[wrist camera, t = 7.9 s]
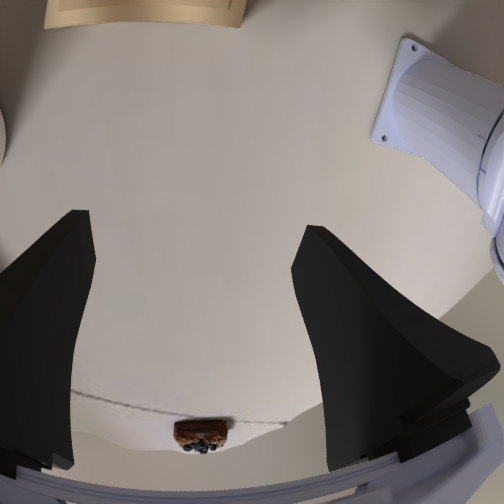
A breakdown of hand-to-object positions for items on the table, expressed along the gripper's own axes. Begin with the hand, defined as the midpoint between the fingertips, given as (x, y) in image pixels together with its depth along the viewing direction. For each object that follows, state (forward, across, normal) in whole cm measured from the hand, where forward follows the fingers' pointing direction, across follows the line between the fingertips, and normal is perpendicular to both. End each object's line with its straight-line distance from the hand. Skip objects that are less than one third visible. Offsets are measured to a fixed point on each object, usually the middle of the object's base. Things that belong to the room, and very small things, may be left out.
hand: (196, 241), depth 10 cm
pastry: (+10, -4, +56) cm, 57 cm away
